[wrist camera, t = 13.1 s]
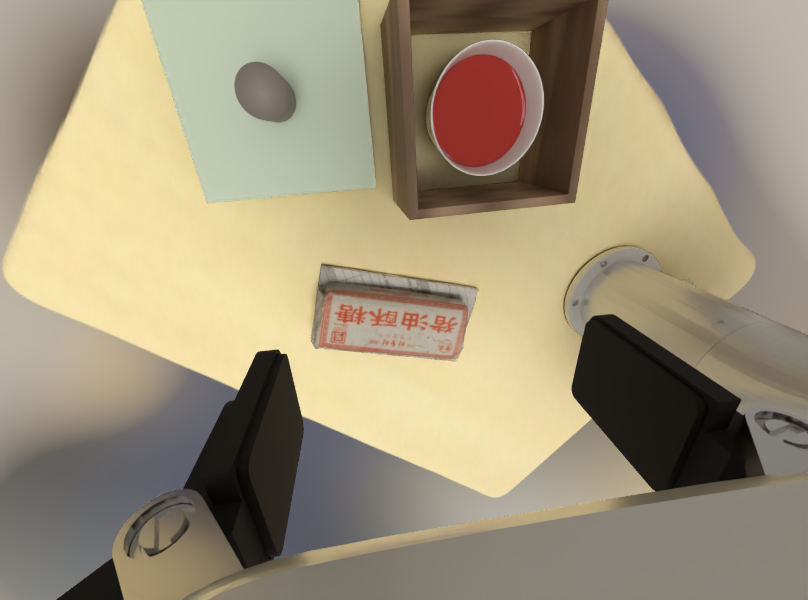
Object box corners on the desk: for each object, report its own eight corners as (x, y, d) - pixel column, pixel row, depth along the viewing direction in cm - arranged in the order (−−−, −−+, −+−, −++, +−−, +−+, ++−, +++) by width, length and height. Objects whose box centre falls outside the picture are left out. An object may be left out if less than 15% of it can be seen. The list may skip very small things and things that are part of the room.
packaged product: (307, 366, 35) (318, 278, 31) (310, 341, 39) (321, 261, 35) (465, 378, 39) (492, 303, 35) (452, 354, 44) (476, 285, 40)
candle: (452, 32, 28) (480, 6, 22) (526, 101, 31) (566, 94, 26) (394, 132, 31) (407, 131, 25) (468, 187, 34) (494, 197, 28)
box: (540, 20, 29) (611, -21, 21) (524, 187, 35) (574, 202, 27) (380, 24, 27) (396, -18, 19) (393, 200, 33) (409, 219, 26)
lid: (354, -15, 25) (360, -63, 19) (374, 184, 32) (382, 196, 26) (149, -12, 23) (81, -64, 17) (214, 199, 30) (182, 215, 24)
